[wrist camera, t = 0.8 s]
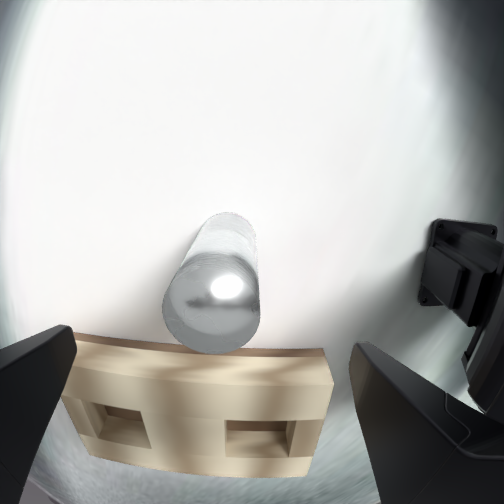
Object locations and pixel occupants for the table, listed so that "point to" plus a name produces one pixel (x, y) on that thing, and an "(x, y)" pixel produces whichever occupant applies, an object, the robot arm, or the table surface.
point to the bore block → (199, 406)
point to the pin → (216, 288)
